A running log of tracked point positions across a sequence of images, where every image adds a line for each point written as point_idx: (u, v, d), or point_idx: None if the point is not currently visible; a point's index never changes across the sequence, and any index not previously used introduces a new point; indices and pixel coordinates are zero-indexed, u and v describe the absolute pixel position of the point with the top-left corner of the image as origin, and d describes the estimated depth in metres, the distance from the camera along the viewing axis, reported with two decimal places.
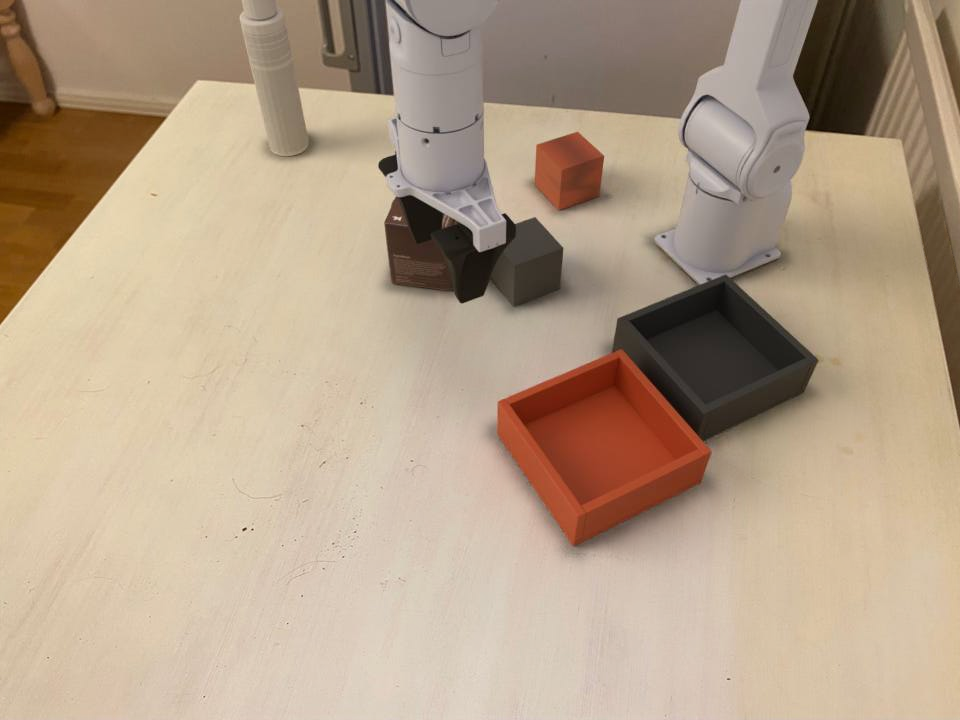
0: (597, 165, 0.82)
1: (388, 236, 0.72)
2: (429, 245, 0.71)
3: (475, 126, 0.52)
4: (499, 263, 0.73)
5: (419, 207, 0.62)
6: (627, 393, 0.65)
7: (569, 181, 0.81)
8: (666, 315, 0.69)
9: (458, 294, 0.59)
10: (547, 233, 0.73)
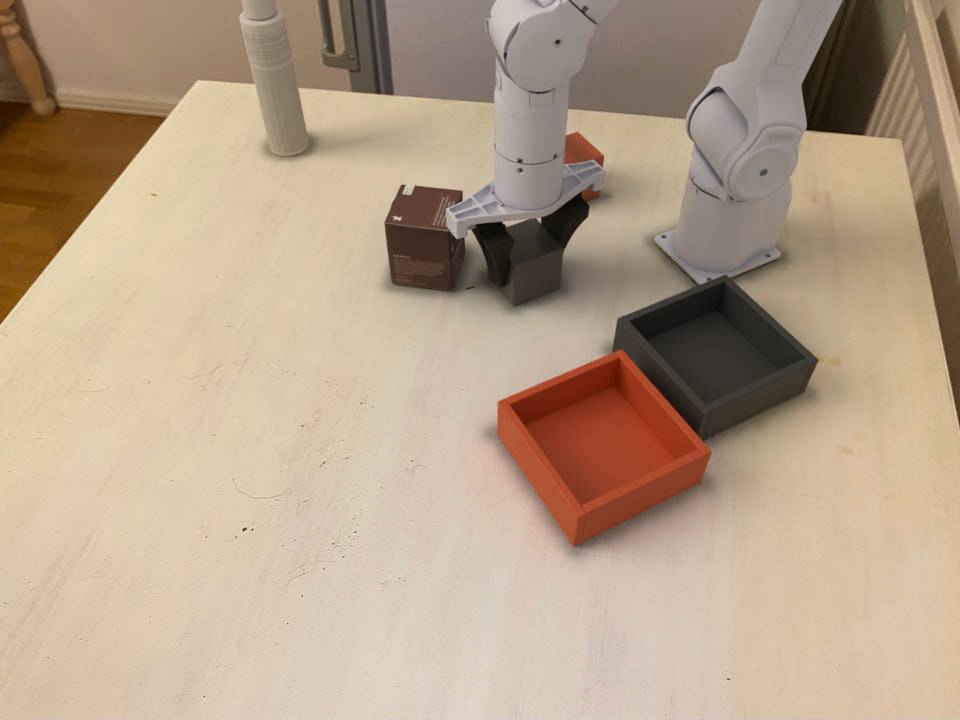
0: None
1: (388, 236, 0.72)
2: (429, 245, 0.71)
3: (509, 163, 0.64)
4: None
5: (547, 230, 0.74)
6: (627, 393, 0.65)
7: None
8: (666, 315, 0.69)
9: (487, 264, 0.74)
10: (547, 233, 0.73)
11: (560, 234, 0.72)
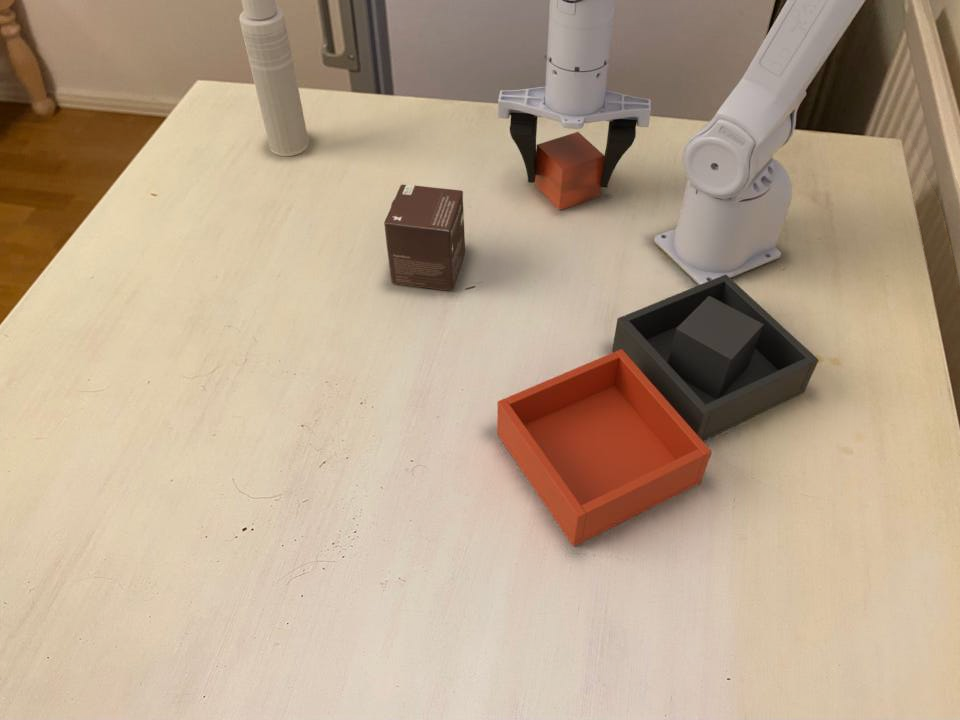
0: (597, 165, 0.82)
1: (388, 236, 0.72)
2: (429, 245, 0.71)
3: None
4: (696, 358, 0.65)
5: (534, 152, 0.82)
6: (627, 393, 0.65)
7: (569, 182, 0.81)
8: (666, 315, 0.69)
9: (609, 179, 0.82)
10: (735, 311, 0.66)
11: (536, 131, 0.82)
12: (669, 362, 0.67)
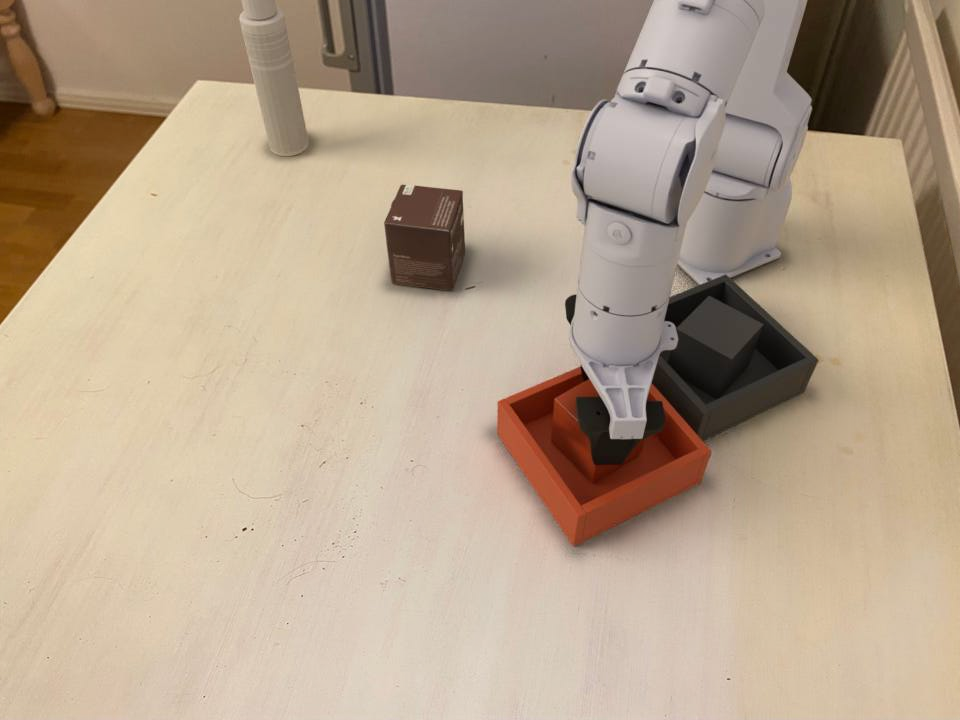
0: None
1: (388, 236, 0.72)
2: (429, 245, 0.71)
3: None
4: (696, 358, 0.65)
5: None
6: None
7: None
8: (666, 315, 0.69)
9: None
10: (735, 311, 0.66)
11: None
12: (669, 362, 0.67)
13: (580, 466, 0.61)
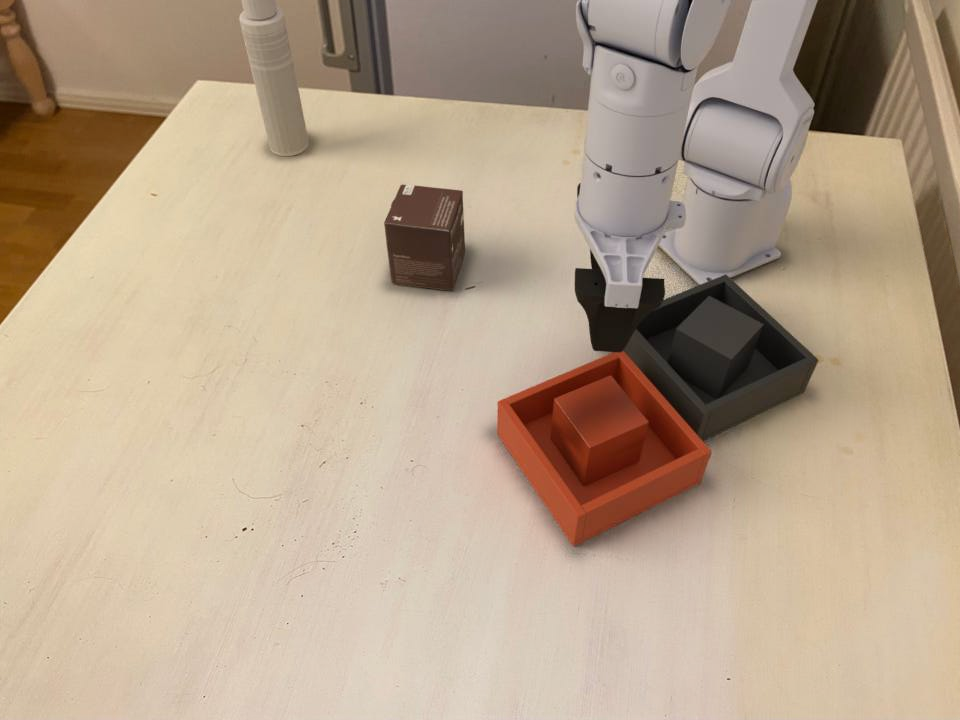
0: None
1: (387, 236, 0.72)
2: (429, 245, 0.71)
3: None
4: (696, 358, 0.65)
5: None
6: (627, 393, 0.65)
7: None
8: (666, 315, 0.69)
9: None
10: (735, 311, 0.66)
11: None
12: (669, 362, 0.67)
13: (573, 468, 0.61)
